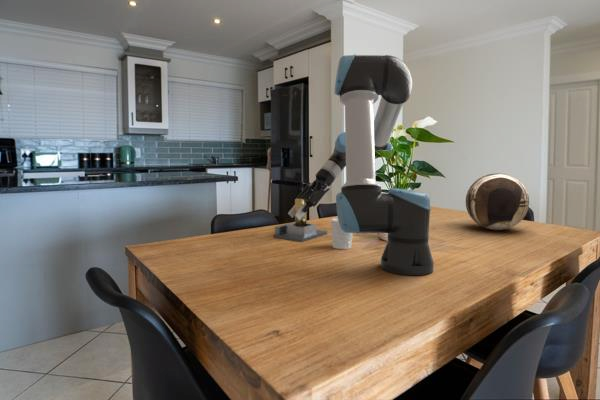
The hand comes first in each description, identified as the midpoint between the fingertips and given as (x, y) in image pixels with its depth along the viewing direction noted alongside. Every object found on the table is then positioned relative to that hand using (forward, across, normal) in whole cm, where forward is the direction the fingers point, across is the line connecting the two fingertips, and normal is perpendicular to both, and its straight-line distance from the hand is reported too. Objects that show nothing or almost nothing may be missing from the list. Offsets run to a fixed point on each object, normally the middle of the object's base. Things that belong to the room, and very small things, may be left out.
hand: (293, 216), depth 155 cm
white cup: (+1, -23, -11) cm, 25 cm away
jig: (+3, +1, -9) cm, 10 cm away
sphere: (-54, -32, -67) cm, 92 cm away
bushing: (+1, 0, -5) cm, 5 cm away
